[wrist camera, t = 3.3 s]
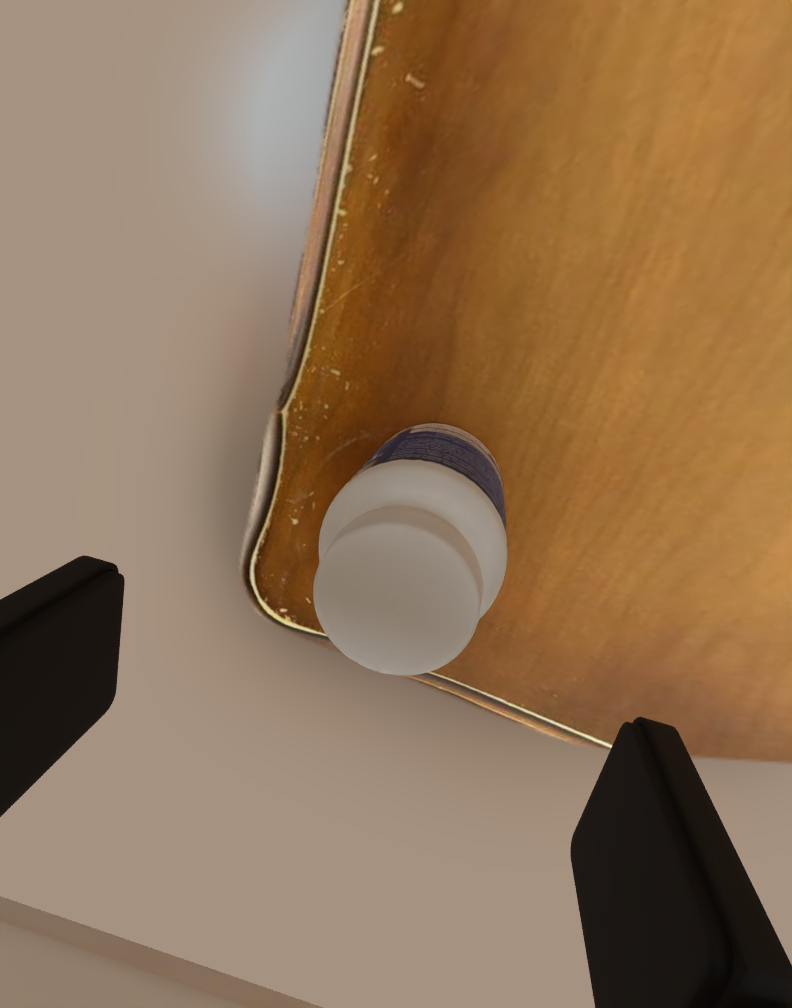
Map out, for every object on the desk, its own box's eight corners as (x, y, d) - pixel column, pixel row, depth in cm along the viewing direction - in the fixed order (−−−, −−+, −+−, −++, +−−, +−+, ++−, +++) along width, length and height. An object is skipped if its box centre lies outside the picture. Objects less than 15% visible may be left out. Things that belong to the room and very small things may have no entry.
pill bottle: (380, 407, 21) (297, 468, 12) (518, 437, 21) (539, 524, 12) (358, 533, 23) (270, 670, 14) (484, 564, 23) (478, 727, 13)
